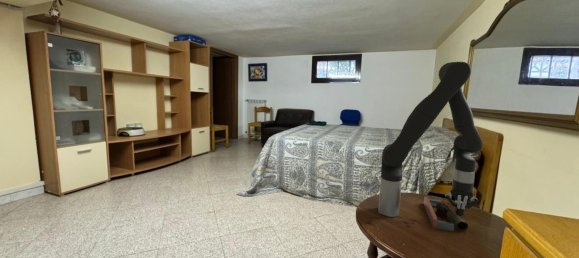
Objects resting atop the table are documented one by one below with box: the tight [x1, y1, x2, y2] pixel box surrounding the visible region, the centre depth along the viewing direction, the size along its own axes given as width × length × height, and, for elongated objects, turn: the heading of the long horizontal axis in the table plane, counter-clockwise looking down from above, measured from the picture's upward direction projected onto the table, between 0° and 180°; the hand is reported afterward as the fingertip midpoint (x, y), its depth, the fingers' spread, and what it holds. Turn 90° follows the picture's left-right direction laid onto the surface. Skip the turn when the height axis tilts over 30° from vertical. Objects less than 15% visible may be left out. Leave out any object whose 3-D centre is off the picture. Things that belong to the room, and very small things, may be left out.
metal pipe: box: [435, 202, 469, 231], centre depth 108 cm, size 18×7×6 cm, turn 175°
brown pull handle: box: [423, 196, 455, 232], centre depth 111 cm, size 8×24×4 cm, turn 159°
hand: (458, 215), depth 108 cm, fingers closed
